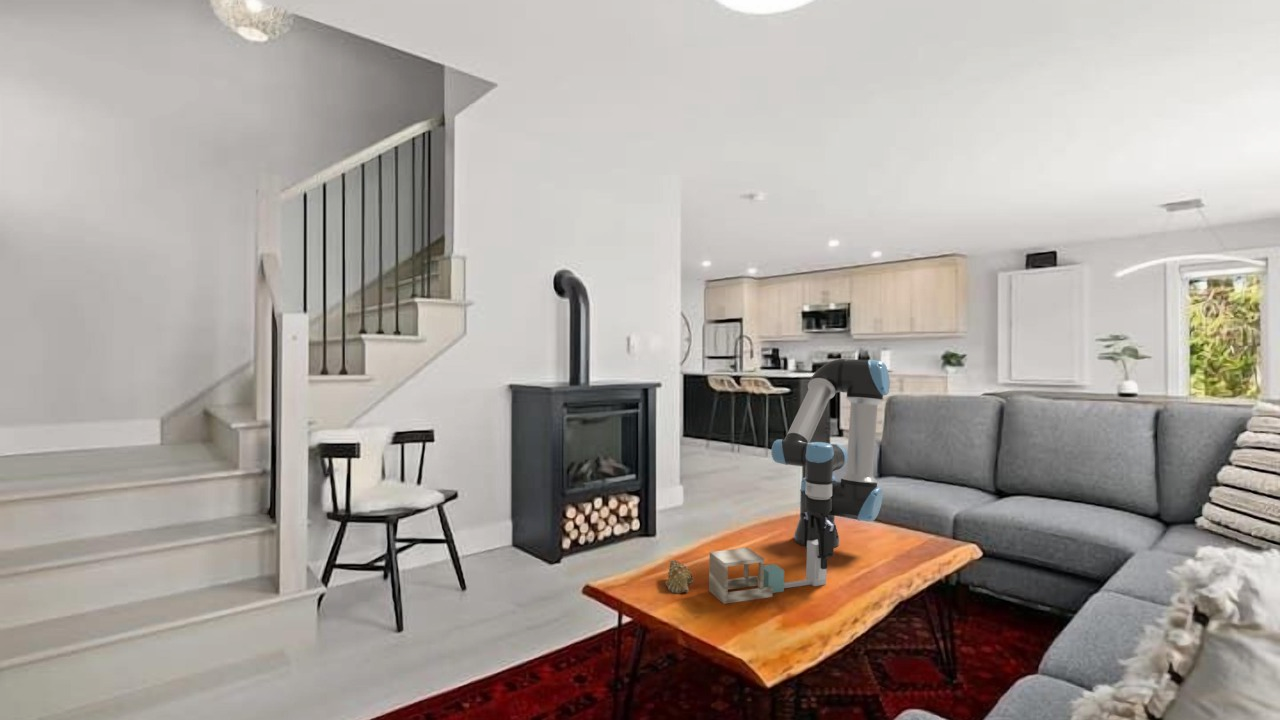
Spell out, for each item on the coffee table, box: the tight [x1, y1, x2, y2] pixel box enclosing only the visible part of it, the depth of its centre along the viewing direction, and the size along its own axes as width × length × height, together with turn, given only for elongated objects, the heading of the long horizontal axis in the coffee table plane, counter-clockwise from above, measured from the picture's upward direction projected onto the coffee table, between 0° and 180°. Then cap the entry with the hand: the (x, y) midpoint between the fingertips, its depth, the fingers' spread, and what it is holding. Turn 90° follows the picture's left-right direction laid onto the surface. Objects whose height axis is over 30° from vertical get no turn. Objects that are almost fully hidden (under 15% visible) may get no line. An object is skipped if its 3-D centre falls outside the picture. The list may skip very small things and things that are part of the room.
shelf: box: [708, 547, 774, 605], centre depth 170 cm, size 15×9×11 cm, turn 110°
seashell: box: [665, 559, 694, 594], centre depth 175 cm, size 9×8×10 cm
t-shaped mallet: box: [763, 539, 827, 594], centre depth 176 cm, size 20×5×12 cm, turn 110°
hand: (816, 575), depth 179 cm, fingers closed on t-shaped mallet, 4 cm apart
